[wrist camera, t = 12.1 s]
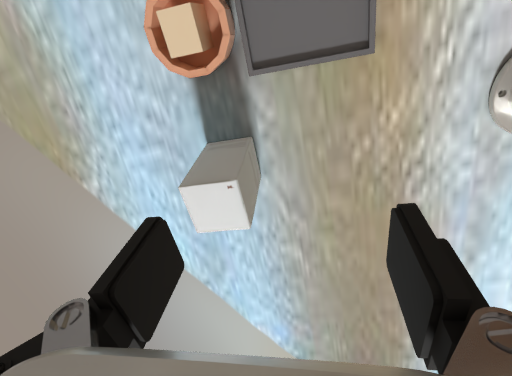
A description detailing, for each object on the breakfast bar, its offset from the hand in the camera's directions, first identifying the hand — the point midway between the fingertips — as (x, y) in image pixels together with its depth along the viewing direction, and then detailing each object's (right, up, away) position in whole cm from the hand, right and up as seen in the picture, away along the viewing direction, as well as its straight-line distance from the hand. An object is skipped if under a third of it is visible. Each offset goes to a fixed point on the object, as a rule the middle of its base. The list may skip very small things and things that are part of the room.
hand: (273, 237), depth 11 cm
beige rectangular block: (-8, +21, +22) cm, 31 cm away
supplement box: (-4, +6, +31) cm, 32 cm away
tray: (+5, +23, +19) cm, 30 cm away
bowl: (-8, +22, +22) cm, 32 cm away
